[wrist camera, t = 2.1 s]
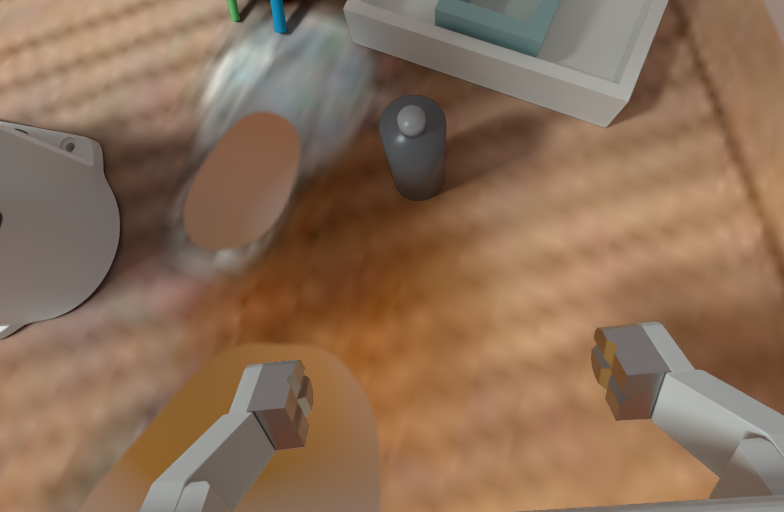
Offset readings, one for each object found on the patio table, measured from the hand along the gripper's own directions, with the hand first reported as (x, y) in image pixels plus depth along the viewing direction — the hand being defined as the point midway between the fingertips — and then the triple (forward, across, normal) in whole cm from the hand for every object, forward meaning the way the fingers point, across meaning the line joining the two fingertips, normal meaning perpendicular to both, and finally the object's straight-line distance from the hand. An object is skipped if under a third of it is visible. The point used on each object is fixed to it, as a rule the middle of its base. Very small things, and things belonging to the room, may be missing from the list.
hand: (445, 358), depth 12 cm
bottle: (+23, 0, +5) cm, 24 cm away
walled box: (+33, -9, -5) cm, 35 cm away
